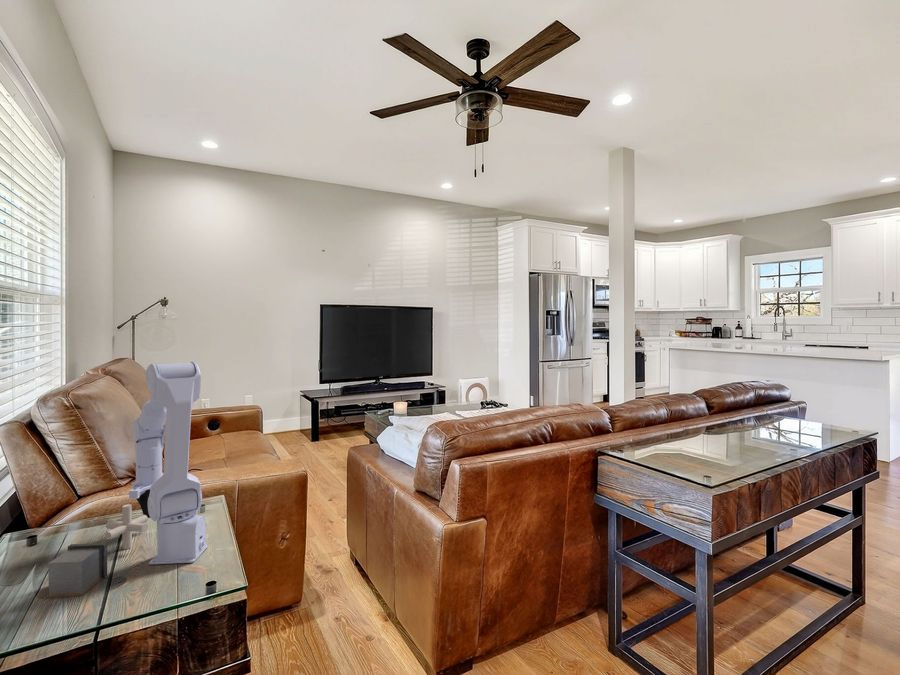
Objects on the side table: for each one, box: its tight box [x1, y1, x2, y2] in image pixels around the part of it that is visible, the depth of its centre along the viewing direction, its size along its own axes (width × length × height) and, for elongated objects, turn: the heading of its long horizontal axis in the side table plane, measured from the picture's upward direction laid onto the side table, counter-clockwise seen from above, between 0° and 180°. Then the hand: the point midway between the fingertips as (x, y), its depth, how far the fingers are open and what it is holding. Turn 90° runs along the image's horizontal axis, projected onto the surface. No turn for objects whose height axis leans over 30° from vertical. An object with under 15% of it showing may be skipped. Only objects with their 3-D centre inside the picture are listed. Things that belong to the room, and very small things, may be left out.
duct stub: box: [47, 542, 108, 598], centre depth 95 cm, size 7×7×7 cm
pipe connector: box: [104, 504, 149, 550], centre depth 112 cm, size 10×10×10 cm
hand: (149, 516), depth 122 cm, fingers closed
